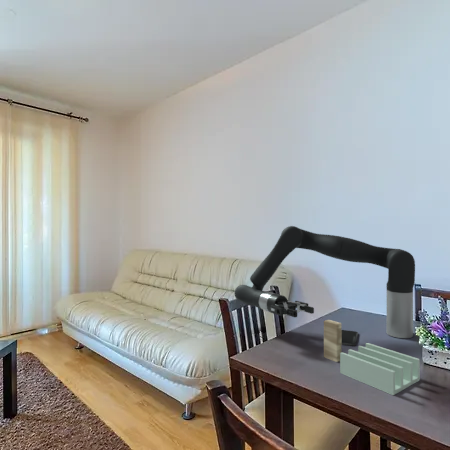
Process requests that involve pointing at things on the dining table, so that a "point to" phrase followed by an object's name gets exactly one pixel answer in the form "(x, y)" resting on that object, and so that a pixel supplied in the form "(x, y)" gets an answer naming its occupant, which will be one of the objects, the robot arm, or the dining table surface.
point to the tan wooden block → (332, 340)
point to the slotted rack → (380, 368)
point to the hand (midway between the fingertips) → (305, 312)
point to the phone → (349, 337)
